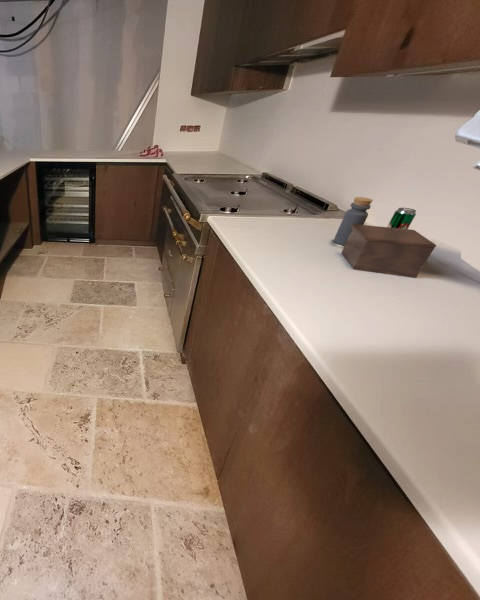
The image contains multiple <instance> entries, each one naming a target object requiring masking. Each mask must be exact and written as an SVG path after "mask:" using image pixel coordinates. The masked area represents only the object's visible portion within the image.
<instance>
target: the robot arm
mask: <svg viewBox="0 0 480 600" xmlns="http://www.w3.org/2000/svg"><path fill="white" fill-rule="evenodd" d="M454 140H455V142H457V143H460V144H463V145H466V146H469V147H473V148H477V149H478V150H479V149H480V109H479V110H478V111H477V112H476V113H475V114H474V115H473V117H472V118H471V119H469V120H468V121H466V122H465V123H464V124H463V125H462V126H460V127H459V128H458V129H457V130H456V132H455V135H454ZM473 169H475V170H478V171H480V160H479V161H477V162H476V163H475V164H474V165H473Z"/></svg>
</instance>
